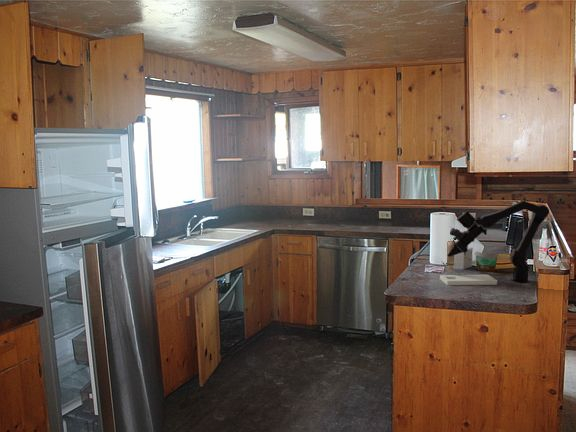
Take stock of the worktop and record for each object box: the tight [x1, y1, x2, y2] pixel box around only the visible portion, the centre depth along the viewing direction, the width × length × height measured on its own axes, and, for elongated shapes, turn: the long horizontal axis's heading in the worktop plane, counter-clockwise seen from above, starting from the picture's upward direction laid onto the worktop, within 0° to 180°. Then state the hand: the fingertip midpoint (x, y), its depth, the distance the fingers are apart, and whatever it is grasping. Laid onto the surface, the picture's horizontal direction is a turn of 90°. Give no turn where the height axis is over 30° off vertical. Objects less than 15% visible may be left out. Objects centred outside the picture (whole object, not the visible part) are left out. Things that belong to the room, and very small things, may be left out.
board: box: [439, 274, 498, 286], centre depth 260 cm, size 24×12×2 cm, turn 91°
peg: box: [445, 240, 455, 271], centre depth 267 cm, size 4×4×14 cm
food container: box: [473, 251, 500, 273], centre depth 282 cm, size 12×6×10 cm, turn 73°
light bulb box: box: [453, 246, 474, 270], centre depth 291 cm, size 11×7×11 cm, turn 136°
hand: (447, 255), depth 267 cm, fingers closed on peg, 4 cm apart
